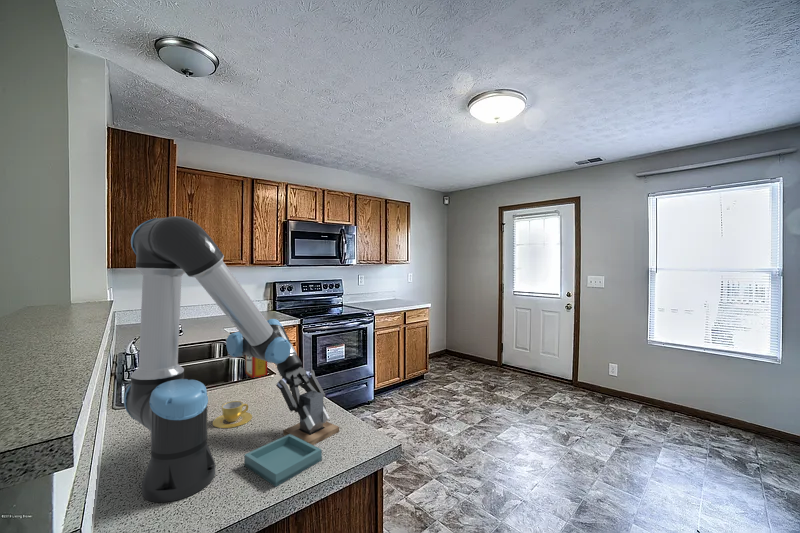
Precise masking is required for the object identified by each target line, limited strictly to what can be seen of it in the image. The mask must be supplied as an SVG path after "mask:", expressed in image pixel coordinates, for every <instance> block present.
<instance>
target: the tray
mask: <svg viewBox="0 0 800 533" xmlns="http://www.w3.org/2000/svg"><path fill="white" fill-rule="evenodd" d="M322 453H323V452H322V449H321V448H320V447H318V446H315V445H312V444H309V443H307V442H305V441H303V440H301V439H299V438H297V437H295V436H293V435H291V434H288V435H286V436H285V435H283V436H282V437H280V438H277V439H275V440H273V441H271V442H268V443H266V444H265V445H262V446H260V447H258V448H256V449H253V450H251V451H249V452H247V453H245V454H244V455H243V456H244V464H243V465H244V467H246V468H247V469H248V470H250V471H251V472H253V473H255V474H256V475H258V476H259V477H260V478H262V479H263V480H265V481H267V482H268V483H269V484H271V485H273V486H274V487H276V488H277V487H278V486H280V485H282V484H285V482H287V481H289V480H290V479H292V478H295V477H296V476H298V475H299V474H301V473H302V472H304V471H306V470H308V469H309V468H312V467H313V466H314V465H316V464H318V463H321V461H323V460H322V459H323V458H322V457H323V456H322Z"/></svg>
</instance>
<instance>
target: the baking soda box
mask: <svg viewBox="0 0 800 533" xmlns="http://www.w3.org/2000/svg"><path fill="white" fill-rule="evenodd" d="M244 358H245V359H244V360H245V362H244V363H245V364H244V365H245V375H247V376H248V377H249V378H251V379H252V378H254V377H259V378H262V377H261V376H264V375H267V376H268V362H267V361H264V360H261V359H258V358H255V357H251V356H248V355H244ZM264 377H265V376H264Z"/></svg>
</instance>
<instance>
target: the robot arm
mask: <svg viewBox="0 0 800 533" xmlns="http://www.w3.org/2000/svg"><path fill="white" fill-rule="evenodd" d="M132 232H133V233H132V235H131V238H130V244H131V245H130V246H131V248H132V250H133V252H134V254H135V256H136V260H135V270H137V272H139V273H140V274H141V275H142V288H141V309H140V332H139V353H138V354H139V355H138V356H139V358H138V367H137V369H136V370H134V371H133V372H132V373H131V375H130V385H128V387H127V389H126V390H125V393H124V397H123V406H124V408H125V410H126V412H127V413H128V415H129V416H130V417H131V418H132V419H133V420H135V421H136V422H137V423H139V424H141V425H142V426H143V427H144V428H146V429H147V430H149V431H150V458H149V461H148V465H147V468H146V469H145V470H146V471H145V474H144V475H143V479H142V482H141V495H142V497H143V498H144V499H145V500H147V501H148V502H149V501H150V502H153V503H169V502H174V501H178V500H181V499H185V498H187V497H190V496H193V495H194V494H196V493H198V492H200V491H201V490H203V489H204V488H207V486H208V485H209V484H211V482H213V480H214V479H215V476H216V462H215V459H214V457H213V454H212V451H211V450H210V447H209V444H208V403H209V396H208V390H207V387H206V385H205V384H204V383H203V382H201V381H199V380H196V379H192V378H191V379H188V378H185V368H184V367H182V366H181V365H180V364H179V343H180V342H179V340H180V319H181V318H180V316H181V298H182V297H181V296H182V294H181V293H182V276H183V275H184V274H186V275H187V277H189V278H195V279H196V280H197V282H198V283H199V284H200V285H201V286H202V287H203V289H204V290H205V292H206V293H207V294H208V295H209V296H210V297H211V298H212V300H213V302H214V303H215V304H216V305H217V306H218V307H219V308H220V310H221V311H222V312H223V314H224V315H225V316H226V317H227V318H228V319H229V321H230V322H231V323H232V324H233V325H234V327H235V328H236V329H237V330H238V331H235V332H232V333H230V334H229V335H228V336H227V338H226V343H225V344H226V346H225V347H226V350H227V353H228V355H230V356H231V357H233V358H237V357H239V358H240V357H242V356H245V355H248V356H251V357H255V358H258V359H261V360H264V361H267V363H268V364H269V363H270V364H275V366H276V369H277V371H278V373H279V375H280V376H281V378H282V379H279V381H278V382H277V383H276V384H275V385H276V387H277V389H279V390H280V392H281V395H282V397H283V399H284V401H285V403H286V405H287V407H288V410H289V411H290V412H293V411H294V413H297V414H298V415H299V419H300V418H301V419H302V420H304V421H305V423H306V425H307V427H308V429H309V430H311V429H312V428H313V427H314V426H315V424H314V422H313V420H312V418H311V416H310V414H309V412H308V410H307V408H306V406H303V405H302V401H301V397H300V395H301V393H300V388H301V389H304V391H305V393H307V392H310V391H316V392H319V393H322V394H323V398H324V397H325V396H326V394H325V393H326V392H324V389H323V388H322V385H321V384H320V383H319V381H318V379H317V377H316V374H315V371H314V369H311V370H310V371H307V370H306V369H305V368H304V367H303V362H302V361H301V359H300V357H299V355H298V353H297V351H296V350H295V347H294V346H293V343H292V342H291V339H290V338H289V336H288V334H287V332H286V330H285V327H284V325H282V323H281V322H280V320H278V319H276V318H270V319H268V320H267V319H266V317H264V315H263V314H262V312H261V311H260V309H259V308H258V306H256V304H255V303H254V301H253V300H252V299H251V297H250V296H249V295H248V293H247V292H246V290H245V289H244V288H243V287H242V285H241V283H239V281H238V279H237V277H236V276H234V274H233V273H232V271H231V270H230V269H229V267H228V266H227V264H226V263H225V262H224V257H225V255H224V254H223V252H222V251H221V250H220V248H219V247H218V245H217V244H216V243H215V241H214V239H212V237H211V236H210V235H209V234H208V233H207V232H206V231H205V230H204V228H202V226H200V225H199V224H198V223H197V222H195V221H194V220H192V219H189V218H187V217H184V216H173V215H172V216H167V217H159V218H158V217H156V218H152V219H149V220H146V221H144V222H143V223H140V225H138V226H137V227H136V228H135V229H134V230H133V231H132ZM299 386H300V388H299ZM302 406H303V407H302ZM326 409H327V407H326V405H325V403H324V402H323V423H326V422H329V421H328V420H330V416H329V414H328V412H327V410H326Z"/></svg>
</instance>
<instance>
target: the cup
mask: <svg viewBox="0 0 800 533" xmlns="http://www.w3.org/2000/svg"><path fill="white" fill-rule="evenodd" d="M243 407H245V409H243ZM248 410H249V405H248V404H247V403H243V402H242V401H240V400H234V401H233V400H232V401H228V402H225V403H223V404H222V405H221V411H222V412H221V413H222V415H219V416H218V417H216V418H215V419H214V420H213V421H212V426H213V427H215V428H219V429H220V428H221V429H229V428H230V429H231V428H236V427H239V426H243V425H245V424H247V423H249V422H250V421H251V420H252V419H253V415H252V414H251V413H250V412H248ZM240 417H241V420H240V419H239V418H240ZM238 420H239V421H238ZM224 421H225V422H227V423H224ZM236 421H238V422H236ZM235 422H236V423H235ZM228 423H229V424H228Z"/></svg>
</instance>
